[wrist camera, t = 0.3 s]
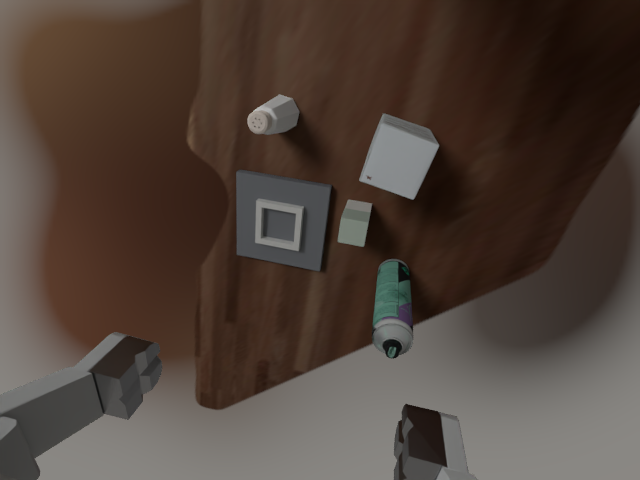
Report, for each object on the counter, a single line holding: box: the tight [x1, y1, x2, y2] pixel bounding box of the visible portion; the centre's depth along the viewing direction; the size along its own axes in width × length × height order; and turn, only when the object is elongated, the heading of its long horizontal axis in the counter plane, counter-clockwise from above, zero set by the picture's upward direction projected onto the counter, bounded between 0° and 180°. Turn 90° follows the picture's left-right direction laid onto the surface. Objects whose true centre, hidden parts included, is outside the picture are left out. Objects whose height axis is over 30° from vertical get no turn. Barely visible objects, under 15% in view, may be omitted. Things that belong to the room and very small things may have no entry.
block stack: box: [338, 200, 372, 247], centre depth 54 cm, size 4×4×8 cm
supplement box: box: [359, 114, 439, 200], centre depth 46 cm, size 7×7×13 cm
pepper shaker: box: [248, 95, 299, 135], centre depth 48 cm, size 5×5×11 cm
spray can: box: [372, 259, 413, 358], centre depth 52 cm, size 6×6×20 cm
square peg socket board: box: [236, 170, 332, 271], centre depth 59 cm, size 16×16×3 cm
